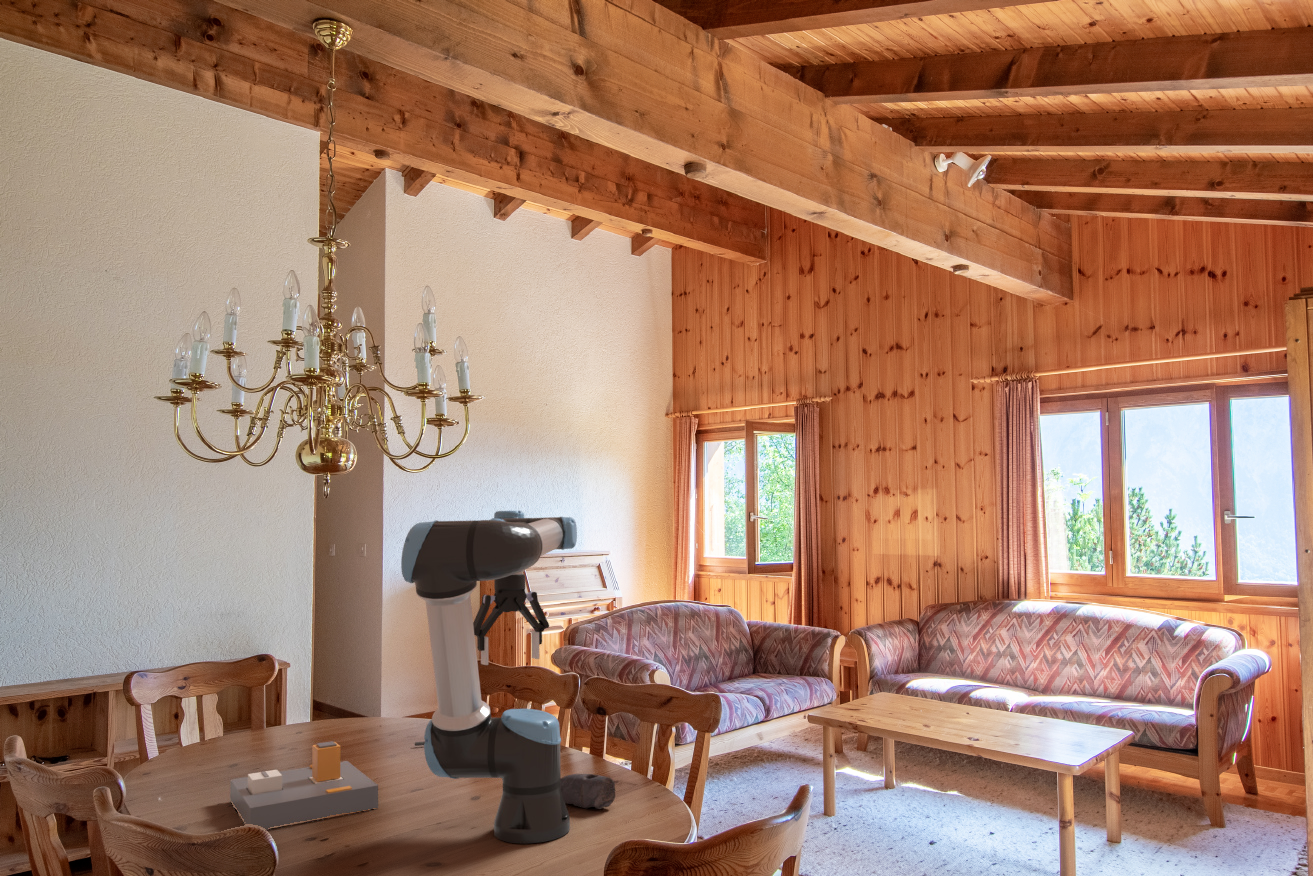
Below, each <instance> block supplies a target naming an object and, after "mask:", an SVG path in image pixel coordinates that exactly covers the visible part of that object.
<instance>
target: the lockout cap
mask: <svg viewBox="0 0 1313 876" xmlns="http://www.w3.org/2000/svg"><path fill="white" fill-rule="evenodd" d="M311 751H312V752H311V753H312V755H311V756H312V757H311V758H312V760H311V763H312V764H311V765H312V777H313V778H314V779H315V780H316V781H317V782H319V781H325V780H331V779H337V778H340V762H341V745H340V744H338V743H337V742H336V741H333V740H331V741H325V742H318V743H316V744H312V750H311Z"/></svg>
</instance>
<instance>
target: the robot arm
mask: <svg viewBox="0 0 1313 876" xmlns="http://www.w3.org/2000/svg"><path fill="white" fill-rule="evenodd" d="M524 513H525V512H524V511H522V510H497V511H495V512H494V516H493V518H491V519H481V520H479V519H478V520H476V519H475V520H436V519H435V520H433V521H423V522H422V521H421V522H418V523H415V524H413V526H412V527H411V528H410V529H409V530H408V532H407V534H406V537H405V539H404V543H403V547H402V553H401V559H400V560H401V561H400V563H401V565H400V566H401V567H400V569H401V575H402V577H403V580H404V582H407V583H408V584H409V583H410V584H414V585H415V592H416V595H417V597H419V598H420V599H422V600H423V601H425V608H426V616H427V625H428V633H429V640H430V641H429V642H430V651H431V657H432V664H433V665H432V666H433V674H434V682H435V691H436V692H435V693H436V698H437V706H438V707H437V709H436V710H435V711H434V712H433V714H432V716H431V719H430V720H429V721H428V722H427V724H426V727H425V731H424V736H423V739H424V741H425V744H424V745H423V751H424V758H425V760H426V764H427V767H428V768H429V770H430V771H431V772H432V773H433V775H434V776H437V777H439V778H450V779H453V780H454V779H456V780H457V779H458V780H459V779H462V778H463V779H472V778H473V779H492V778H493V779H496V778H497V779H502V793H501V797H500V802H499V804H498V808H497V812H496V815H495V817H494V822H493V835H494V837H496V838H497V839H498V840H500V841H503V842H507V843H511V844H539V843H545V842H548V841H549V842H550V841H553V840H554V841H555V840H557V839H559V838H562V837H563V836H565V835H567V834H568V833H569V831H570V829H571V819H570V814H569V810H568V808H567V807H568V806H567V805H566V804H567V803H565V801H564V798H563V795H562V792H561V778H562V777H561V776H562V775H561V774H562V772H561V743H562V738H561V732H560V730H561V729H560V722H559V720H558V718H557V717H556V716H555V715H553V714H552V713H549V712H547V711H545V710H544V711H543V710H539V709H533V708H510V709H507V710H504V712H502V715H501V717H492V714H491V713H492V712H491V706H490V705H489V704H488V703H487V702H485V701H483V700H482V692H481V682H480V676H479V675H480V674H479V665H478V663H479V662H478V655H477V650H478V651H480V664H481V665H484V666H488V665H489V637H488V636H486V635H487V634H488V633H489V630H491V628H492V626H493V625H494V624H495V623H496V622H497V620H498V618H499V617H500V616H501V615H502V614H503V613H510V612H514V613H516V612H517V613H518V612H519V613H520V614H521V615H522V616H523V618H524V619H525V620H526V622H527V623H528V624H529V625H530V626H531V627H532V629H533V630H532V631H531V632H530V633H531V635H530V637H531V659H534V660H539V659H540V645H542V644H543V632H544V631H545V629H549V627H550V623H549V622H548V620H547V617H546V615H545V613H544V611H543V609H542V607H541V605H540V603H539V600H538V592H536V591H528V592H526V590H525V589H526V574H525V573H523V572H525V571H526V570H528V569H529V568H531V567H533V566H535V564H536V563H537V562H538V561H539V559H540V558H541V557H542V556H544V555H546V554H548V553H551V552H553V551H555V550H562V551H565V550H568V549H569V550H570V549H571V550H572V549H574V548H575V546H576V544H577V539H578V527H577V522H576V520H575V518H574V517H571V516H569V517H568V516H567V517H566V516H559V517H558V516H556V517H555V516H554V517H552V516H551V517H525V514H524ZM485 581H494V583H493V584H494V585H493V587H494V593H493V595H490V594H483V595H482V596H481V605H480V606H479V609H478V611H477V613H476V616H475V618H474V619H473V610H472V602H471V601H472V599H471V594H472V593H473V592H474V590H475V589H476V588H477V587H478V583H477V582H485ZM526 600H527V602H528V601H529V605H530V607H531V609H532V611H533V614H534V615H535V616H534V615H533V614H532V613H531V612H530V610H529V608H528V606H526V604H525V601H526ZM493 602H494V604H495V606H494V607H493V608H492V609H491V613H489V615H488V617H487V618H486V616H487V614H488V612H489V609H490V606H491V605H492V604H493ZM535 617H536V618H535ZM485 618H486V619H485ZM473 620H474V621H473ZM475 637H476V638H477V646H476V638H475Z"/></svg>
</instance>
